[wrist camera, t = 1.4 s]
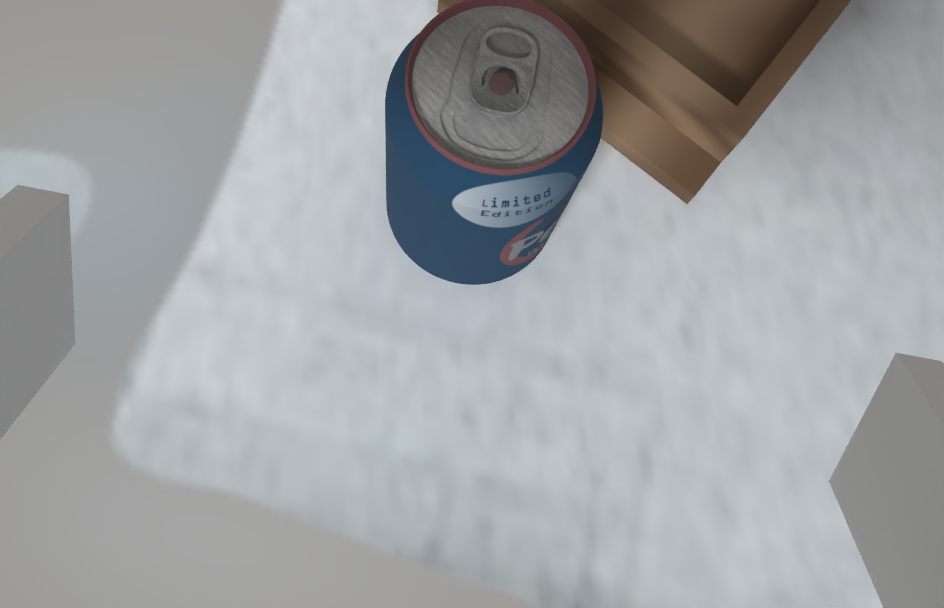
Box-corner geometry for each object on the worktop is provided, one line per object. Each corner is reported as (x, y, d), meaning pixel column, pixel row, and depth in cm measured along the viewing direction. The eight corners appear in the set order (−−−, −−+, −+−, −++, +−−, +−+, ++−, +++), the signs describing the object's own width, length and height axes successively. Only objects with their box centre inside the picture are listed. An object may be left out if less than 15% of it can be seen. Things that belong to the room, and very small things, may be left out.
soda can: (533, 308, 38) (597, 214, 26) (370, 273, 37) (360, 162, 26) (562, 156, 39) (633, 4, 28) (406, 122, 39) (412, -46, 27)
